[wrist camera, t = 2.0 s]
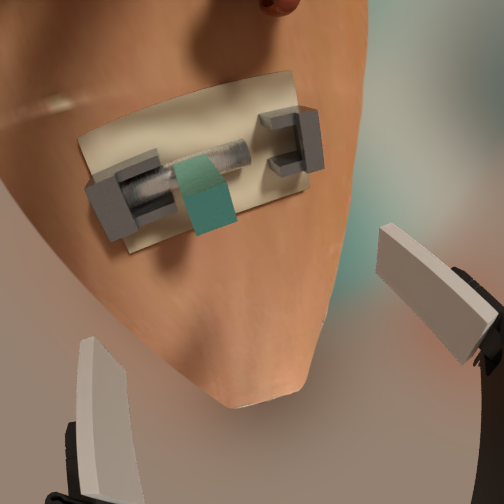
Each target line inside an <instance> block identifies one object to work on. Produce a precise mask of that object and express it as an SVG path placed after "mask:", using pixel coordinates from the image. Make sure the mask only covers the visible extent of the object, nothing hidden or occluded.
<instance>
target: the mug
mask: <svg viewBox="0 0 504 504" xmlns="http://www.w3.org/2000/svg"><path fill="white" fill-rule="evenodd" d="M299 2H300V0H277V1H276V0H259V7H260V10H261V11H262V12H263V13H264V14H267V15H270V16H274V17H282V16H286V15H288V14H290V13H292V12H293V11H294V10H295V9H296V8H297V6H298V4H299Z"/></svg>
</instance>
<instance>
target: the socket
mask: <svg viewBox="0 0 504 504" xmlns="http://www.w3.org/2000/svg"><path fill="white" fill-rule="evenodd" d="M258 115H259V119H260V124H261V125H262V126H264V127H267V128H269V129H271V130H275V129H279V128H283V127H288V126H292V125H293V130H294V136H295V142H296V148H297V150H295V151H292V152H288V153H284V154H281V155H277V156H274V157H270V158H268V163H269V168H270V169H271V170H272V171H273V172H275V173H276V174H277V175H278V176H280V177H281V178H283V177H286V176H290V175H293V174H296V173H299V172H303V171H304V172H306V173H307V174H308V173H311V172H315V171H318V170H321V169H325V167H324V158H323V149H322V140H321V132H320V125H319V117H318V110H316V109H312V108H308V107H304V106H300V105H296V106H291V107H287V108H282V109H277V110H273V111H269V112H265V113H260V114H258Z"/></svg>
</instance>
